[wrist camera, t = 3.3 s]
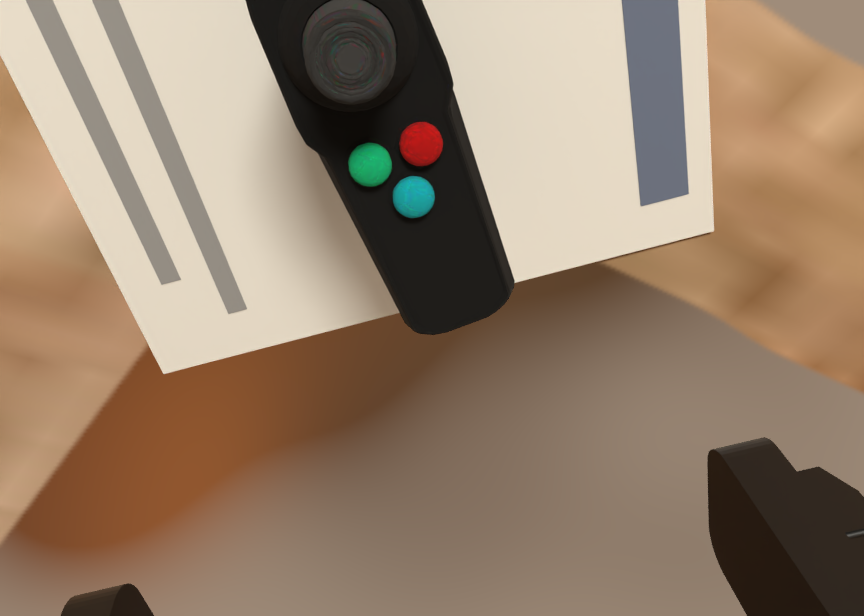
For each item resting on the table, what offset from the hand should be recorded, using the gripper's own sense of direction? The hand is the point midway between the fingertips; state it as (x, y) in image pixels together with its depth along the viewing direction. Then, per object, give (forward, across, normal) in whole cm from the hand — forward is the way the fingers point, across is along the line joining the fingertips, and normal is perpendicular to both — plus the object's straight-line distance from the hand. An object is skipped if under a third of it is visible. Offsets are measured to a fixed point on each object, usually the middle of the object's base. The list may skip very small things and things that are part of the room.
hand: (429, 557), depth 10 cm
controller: (+20, -1, -2) cm, 20 cm away
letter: (+20, -1, -2) cm, 20 cm away
